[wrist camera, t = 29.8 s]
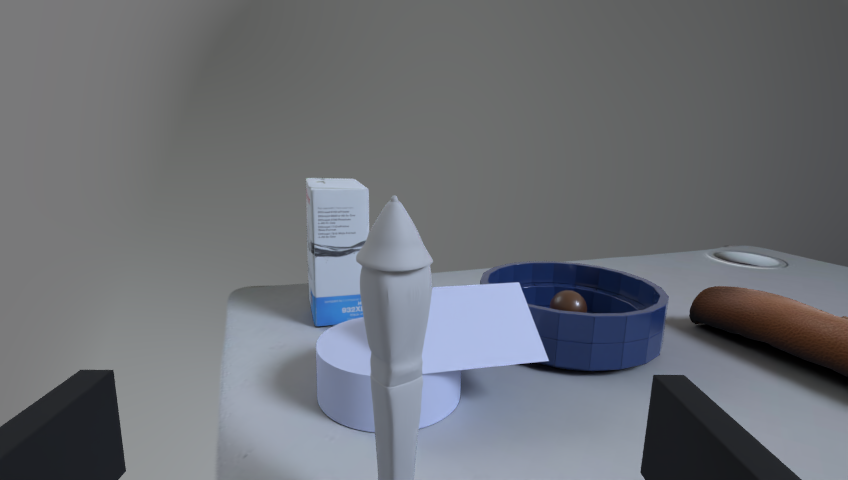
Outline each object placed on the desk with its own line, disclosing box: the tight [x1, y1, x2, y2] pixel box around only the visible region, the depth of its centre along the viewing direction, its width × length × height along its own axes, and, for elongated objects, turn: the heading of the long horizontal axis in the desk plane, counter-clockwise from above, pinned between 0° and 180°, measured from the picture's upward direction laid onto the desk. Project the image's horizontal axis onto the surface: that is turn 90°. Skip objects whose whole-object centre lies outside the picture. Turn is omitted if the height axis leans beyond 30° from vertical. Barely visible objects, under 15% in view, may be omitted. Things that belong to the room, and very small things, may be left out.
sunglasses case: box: [689, 286, 848, 377], centre depth 36 cm, size 18×7×7 cm
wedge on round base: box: [316, 282, 549, 432], centre depth 31 cm, size 9×7×13 cm
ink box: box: [306, 178, 369, 326], centre depth 44 cm, size 8×5×12 cm, turn 16°
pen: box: [356, 196, 433, 480], centre depth 18 cm, size 2×3×14 cm
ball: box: [550, 290, 587, 313], centre depth 41 cm, size 3×3×3 cm
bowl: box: [480, 261, 669, 371], centre depth 40 cm, size 14×14×4 cm
